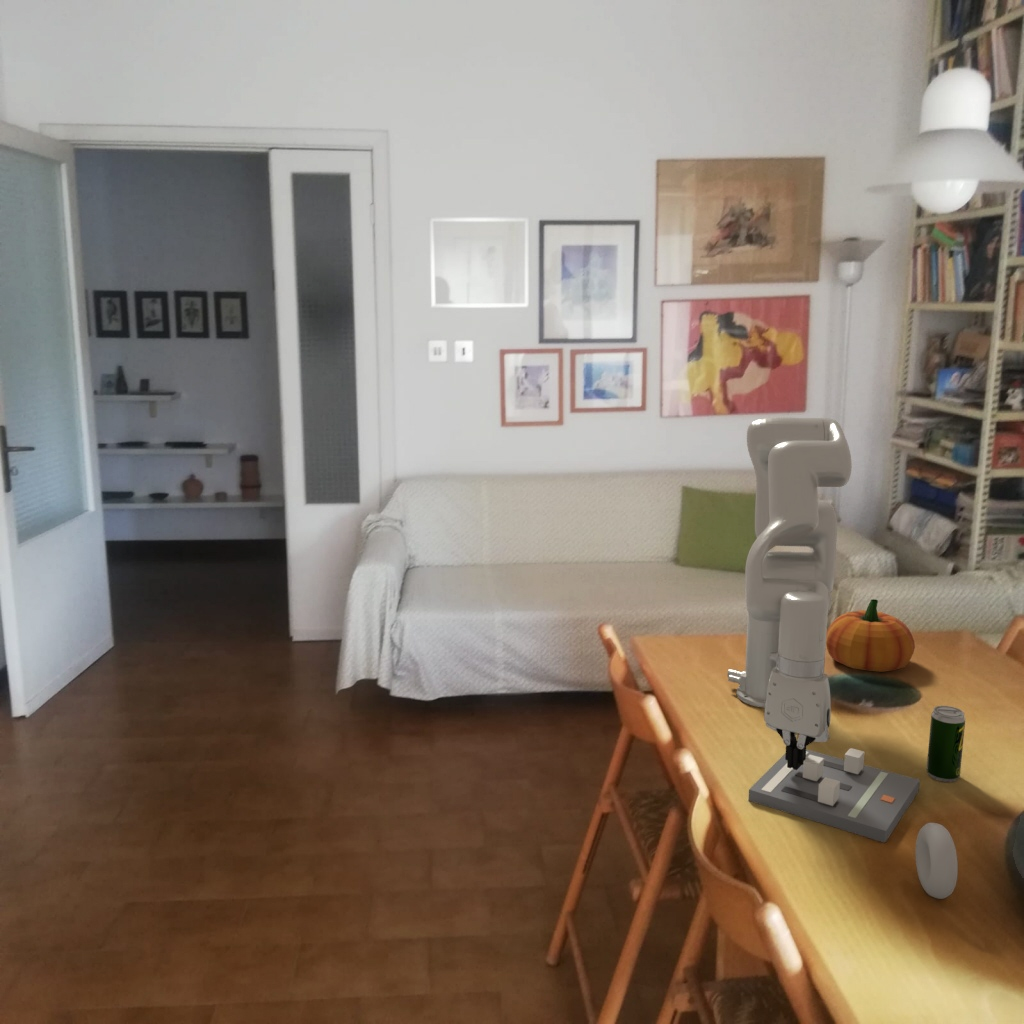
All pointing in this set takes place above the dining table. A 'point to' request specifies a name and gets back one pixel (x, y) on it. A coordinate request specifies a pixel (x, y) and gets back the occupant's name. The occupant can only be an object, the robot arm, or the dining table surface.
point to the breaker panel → (839, 794)
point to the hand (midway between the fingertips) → (795, 765)
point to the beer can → (945, 743)
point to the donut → (936, 860)
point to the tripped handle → (813, 767)
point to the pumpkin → (870, 640)
